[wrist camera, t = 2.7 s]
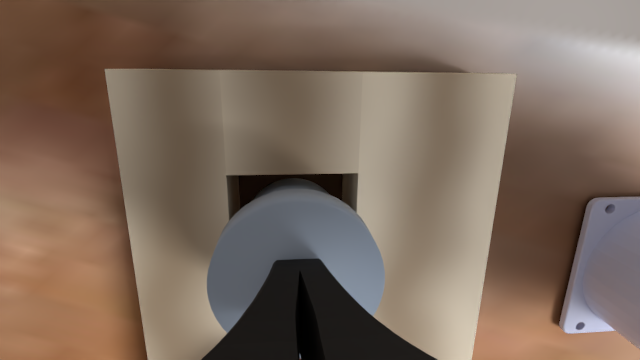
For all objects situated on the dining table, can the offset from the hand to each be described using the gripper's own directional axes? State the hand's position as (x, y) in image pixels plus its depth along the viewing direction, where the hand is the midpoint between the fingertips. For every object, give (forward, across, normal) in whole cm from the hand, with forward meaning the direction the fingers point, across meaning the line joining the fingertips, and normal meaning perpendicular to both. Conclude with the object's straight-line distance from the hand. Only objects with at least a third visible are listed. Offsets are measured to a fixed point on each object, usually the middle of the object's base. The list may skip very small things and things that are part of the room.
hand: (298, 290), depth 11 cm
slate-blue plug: (+5, 0, 0) cm, 5 cm away
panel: (+7, -1, +8) cm, 11 cm away
